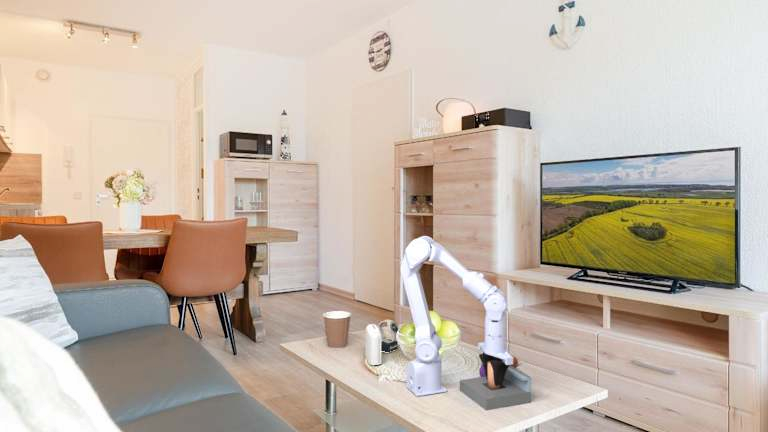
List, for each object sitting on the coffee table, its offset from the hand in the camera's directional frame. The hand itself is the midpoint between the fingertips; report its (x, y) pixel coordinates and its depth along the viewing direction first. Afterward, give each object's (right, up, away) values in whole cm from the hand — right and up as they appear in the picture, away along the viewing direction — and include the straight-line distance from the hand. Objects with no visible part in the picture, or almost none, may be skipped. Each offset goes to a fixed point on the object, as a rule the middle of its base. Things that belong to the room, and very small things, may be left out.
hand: (494, 382), depth 140 cm
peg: (0, -3, 0) cm, 3 cm away
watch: (-29, -2, +40) cm, 50 cm away
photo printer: (-34, -3, +29) cm, 45 cm away
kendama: (+6, -4, +18) cm, 19 cm away
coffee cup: (-48, -2, +45) cm, 66 cm away
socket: (0, -4, 0) cm, 4 cm away
